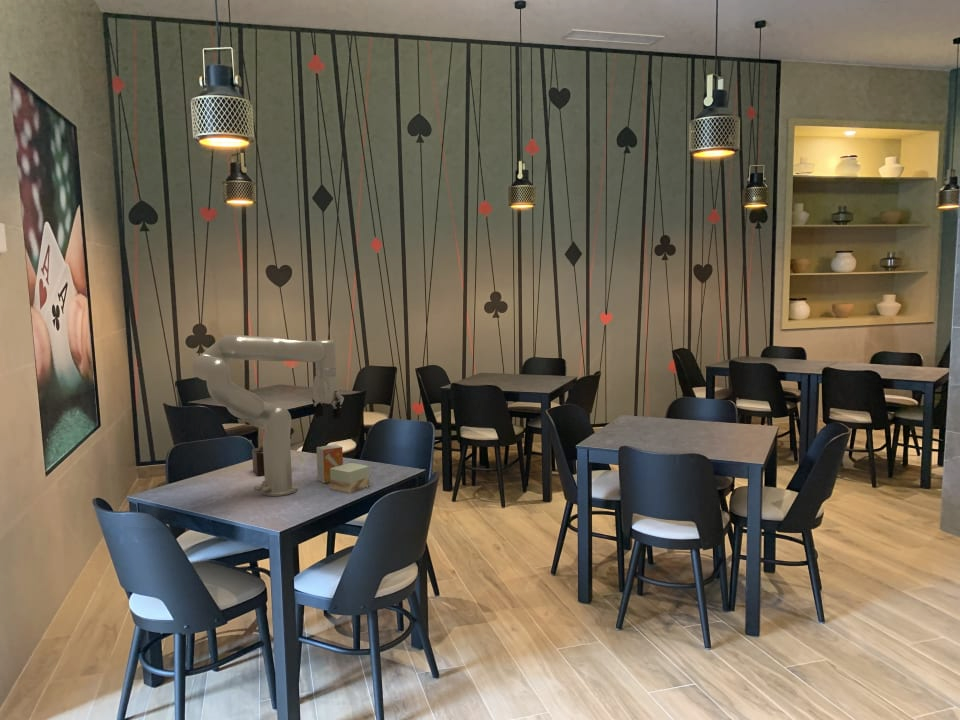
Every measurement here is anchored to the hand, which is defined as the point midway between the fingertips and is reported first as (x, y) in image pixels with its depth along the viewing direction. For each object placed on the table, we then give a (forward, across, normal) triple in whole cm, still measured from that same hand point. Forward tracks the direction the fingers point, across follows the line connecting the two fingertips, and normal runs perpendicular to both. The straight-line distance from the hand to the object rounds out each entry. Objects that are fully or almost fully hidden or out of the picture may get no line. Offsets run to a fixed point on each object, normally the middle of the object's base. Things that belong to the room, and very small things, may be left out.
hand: (327, 417), depth 278 cm
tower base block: (+25, +14, -3) cm, 29 cm away
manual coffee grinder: (+24, -30, -3) cm, 39 cm away
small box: (+24, 0, 0) cm, 25 cm away
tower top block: (+21, +14, -3) cm, 25 cm away
